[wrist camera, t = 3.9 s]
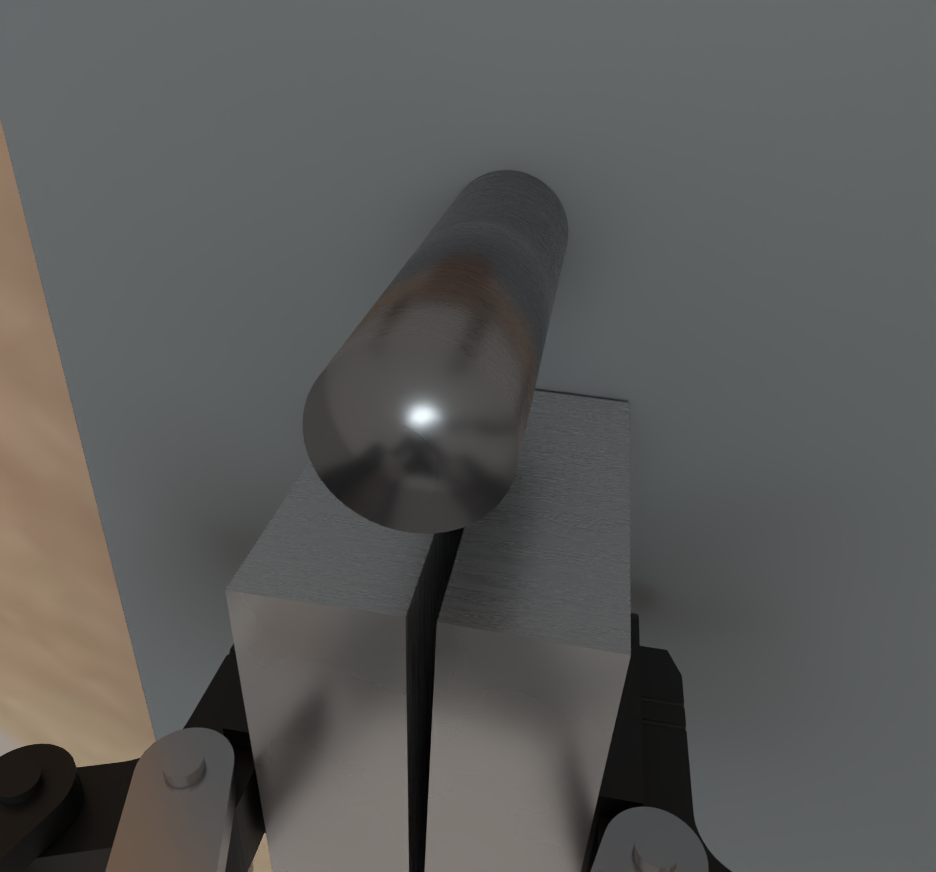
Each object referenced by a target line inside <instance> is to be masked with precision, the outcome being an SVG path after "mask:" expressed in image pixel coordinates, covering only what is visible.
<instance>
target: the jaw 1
mask: <svg viewBox="0 0 936 872" xmlns="http://www.w3.org/2000/svg"><path fill="white" fill-rule="evenodd" d="M464 528H465V527H463V528H460V529H456V530H452V531H448V532H442V533H431V534H420V533H408V532H403V531H398V530H394V529H391V528H387V527H384V526H381V525H379V524H376V523H374V522H372V521H369V520H368V519H366V518H364V517H362V516H360V515H358V514H357V513H355V512H354V511H353V510H351V509H350V508H348V507H347V506H346V505H344V504H343V503H342V502H341V501H340V500H338V499H337V498H336V497H335V496H334V495H333V494H332V493H331V491H330V490H329V489H328V488H327V487H326V486H325V484H324V483H323V482H322V480H321V479H320V478H319V476H318V474H317V473H316V471H315V469H314V468H313V466H312V463H311V461H309V463H308V464H307V466H306V467H305V469H304V470H303V472H302V473H301V475H300V477H299V478H298V480H297V481H296V483H295V484H294V486H293V487H292V489H291V490H290V492H289V493H288V495H287V496H286V498H285V499H284V501H283V502H282V504H281V506H280V507H279V509H278V510H277V512H276V513H275V515H274V516H273V518H272V519H271V521H270V522H269V524H268V525H267V527H266V528H265V530H264V531H263V533H262V535H261V536H260V538H259V539H258V541H257V542H256V544H255V545H254V547H253V548H252V550H251V551H250V553H249V554H248V556H247V557H246V559H245V560H244V562H243V564H242V565H241V567H240V568H239V570H238V571H237V573H236V574H235V576H234V577H233V579H232V580H231V582H230V583H229V585H228V586H227V588H226V589H225V593H226V599H227V605H228V611H229V617H230V623H231V629H232V635H233V640H234V646H235V652H236V658H237V664H238V670H239V676H240V682H241V688H242V694H243V699H244V705H245V711H246V717H247V723H248V729H249V735H250V741H251V747H252V753H253V758H254V764H255V770H256V776H257V782H258V788H259V794H260V800H261V806H262V812H263V817H264V823H265V829H266V835H267V841H268V847H269V853H270V859H271V865H272V871H273V872H425V852H426V832H427V812H428V792H429V771H430V751H431V731H432V711H433V690H434V670H435V650H436V629H437V620H438V617H439V613H440V610H441V606H442V603H443V600H444V596H445V593H446V589H447V586H448V583H449V579H450V576H451V572H452V569H453V566H454V562H455V559H456V555H457V552H458V549H459V545H460V542H461V538H462V535H463V532H464Z"/></svg>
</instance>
